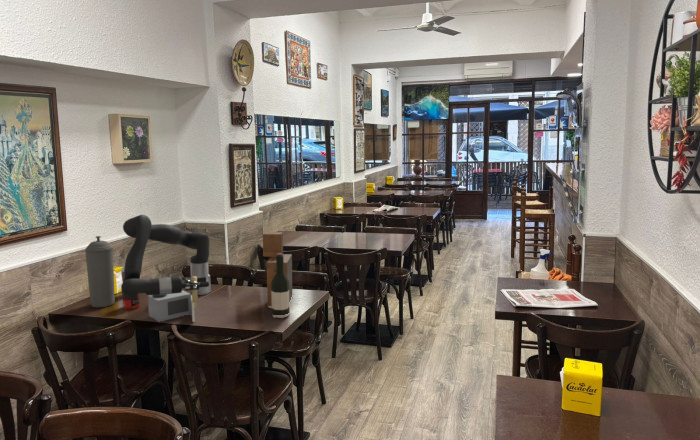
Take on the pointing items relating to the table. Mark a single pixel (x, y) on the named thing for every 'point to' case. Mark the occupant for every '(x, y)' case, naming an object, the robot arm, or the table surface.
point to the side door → (194, 299)
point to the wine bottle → (280, 289)
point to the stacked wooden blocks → (271, 249)
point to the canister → (100, 273)
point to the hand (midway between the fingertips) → (207, 281)
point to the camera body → (169, 305)
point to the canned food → (131, 303)
